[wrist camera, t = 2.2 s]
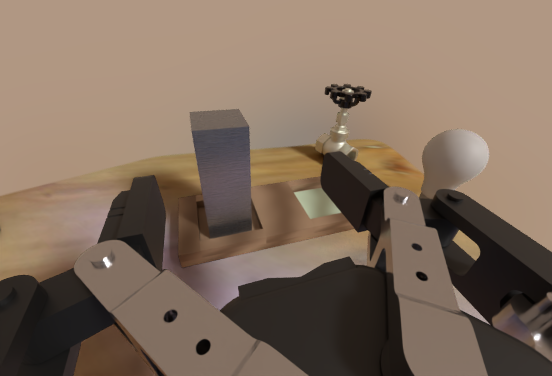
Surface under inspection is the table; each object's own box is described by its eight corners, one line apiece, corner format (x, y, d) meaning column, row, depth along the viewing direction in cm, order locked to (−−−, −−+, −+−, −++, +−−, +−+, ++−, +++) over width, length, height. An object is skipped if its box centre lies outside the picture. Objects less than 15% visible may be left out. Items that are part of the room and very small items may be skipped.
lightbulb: (418, 227, 29) (463, 144, 23) (392, 196, 34) (422, 121, 28) (463, 224, 30) (518, 143, 24) (431, 194, 35) (469, 120, 29)
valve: (333, 174, 38) (350, 97, 31) (307, 157, 43) (316, 86, 36) (361, 164, 42) (381, 91, 35) (333, 149, 46) (346, 82, 39)
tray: (181, 267, 23) (178, 255, 22) (181, 209, 30) (178, 197, 29) (376, 223, 29) (380, 212, 28) (338, 183, 36) (341, 173, 35)
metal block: (210, 238, 25) (191, 131, 18) (206, 211, 29) (189, 112, 22) (251, 230, 27) (249, 126, 20) (243, 205, 30) (238, 109, 23)
